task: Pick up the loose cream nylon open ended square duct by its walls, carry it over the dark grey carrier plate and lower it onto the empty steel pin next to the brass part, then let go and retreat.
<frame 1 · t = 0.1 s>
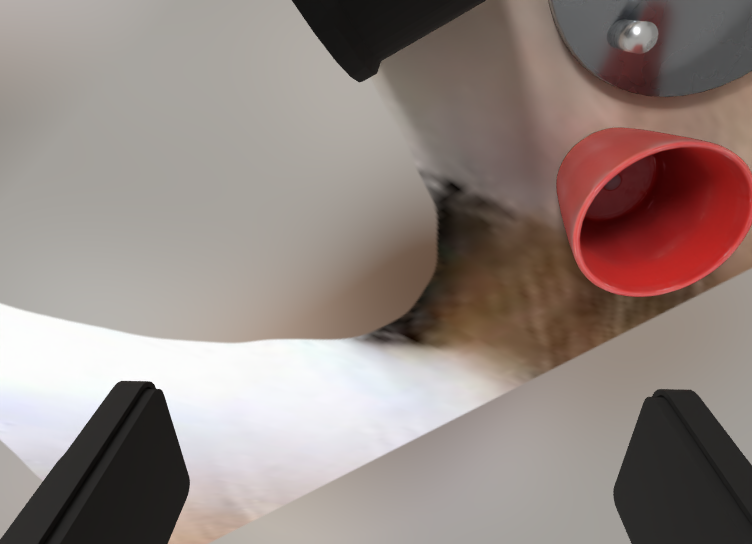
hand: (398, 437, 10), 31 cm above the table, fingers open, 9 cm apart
flower pot: (604, 176, 39), on the table
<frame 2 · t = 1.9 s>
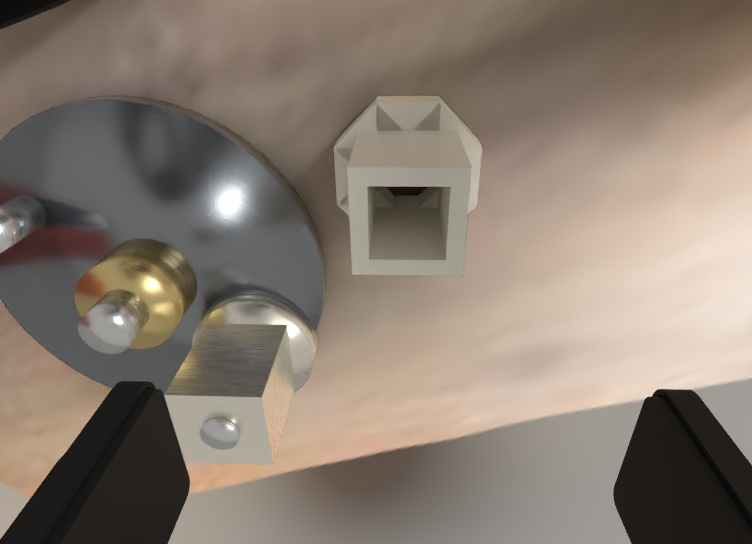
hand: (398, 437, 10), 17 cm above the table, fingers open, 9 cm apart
open ended square duct: (406, 167, 24), on the table
carrier: (161, 268, 28), on the table
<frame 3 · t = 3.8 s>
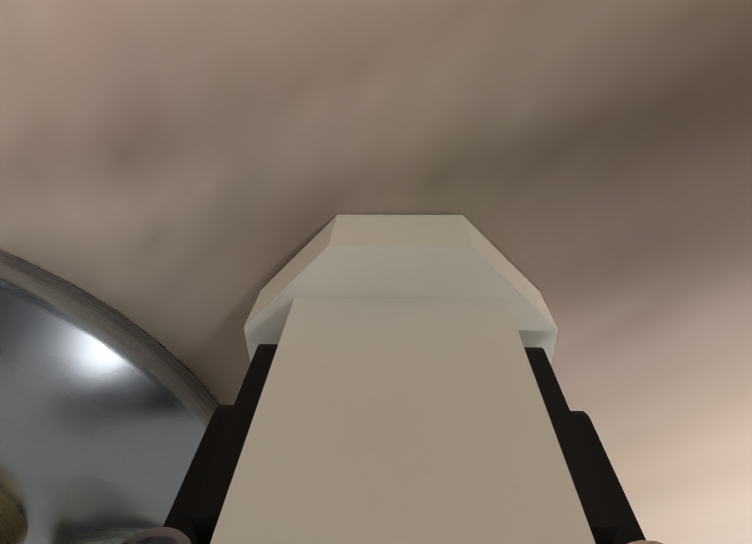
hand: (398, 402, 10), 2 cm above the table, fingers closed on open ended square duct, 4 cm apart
open ended square duct: (398, 336, 13), on the table, touching gripper
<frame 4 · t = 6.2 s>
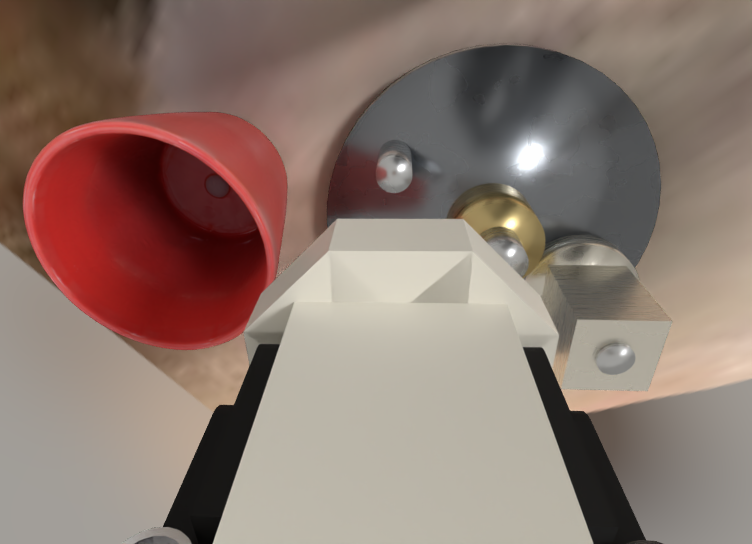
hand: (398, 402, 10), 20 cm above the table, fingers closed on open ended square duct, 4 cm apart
open ended square duct: (398, 340, 13), point 17 cm above the table, touching gripper
flower pot: (224, 177, 29), on the table
carrier: (485, 215, 29), on the table
when the fingers open (5 cm above the table, at t = 8.6 s): open ended square duct drops 1 cm, resting on carrier.
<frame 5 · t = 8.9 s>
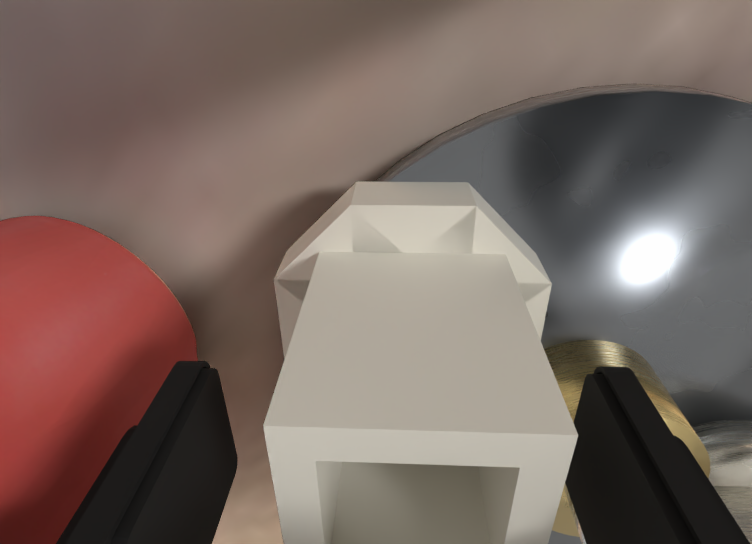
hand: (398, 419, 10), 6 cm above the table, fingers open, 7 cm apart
open ended square duct: (408, 295, 14), point 1 cm above the table, touching carrier
flower pot: (94, 318, 16), on the table, touching gripper
carrier: (564, 376, 17), on the table
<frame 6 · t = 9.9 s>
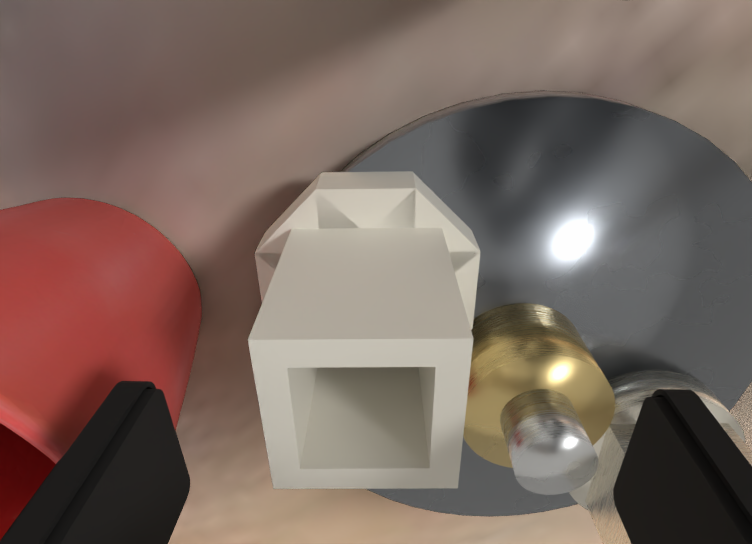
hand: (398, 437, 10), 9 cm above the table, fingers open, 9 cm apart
open ended square duct: (369, 268, 17), point 1 cm above the table, touching carrier
flower pot: (103, 289, 19), on the table
carrier: (506, 339, 20), on the table
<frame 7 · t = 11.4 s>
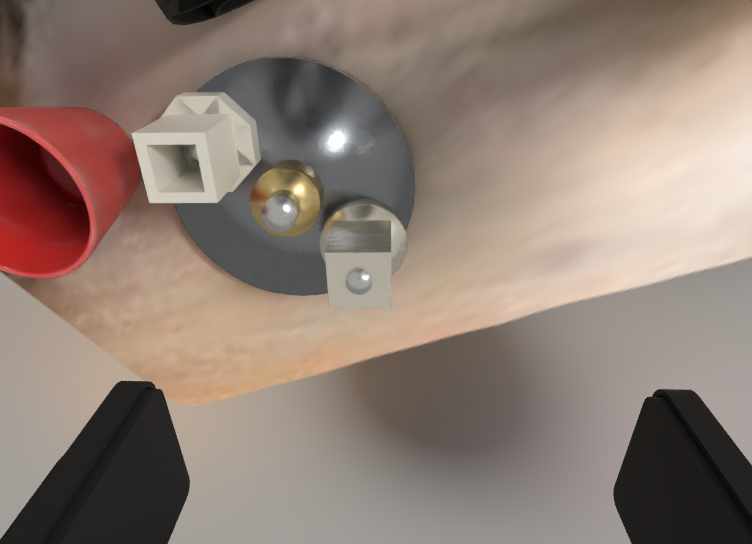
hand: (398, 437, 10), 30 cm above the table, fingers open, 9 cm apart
open ended square duct: (212, 140, 36), point 1 cm above the table, touching carrier
flower pot: (92, 157, 38), on the table
carrier: (294, 186, 39), on the table
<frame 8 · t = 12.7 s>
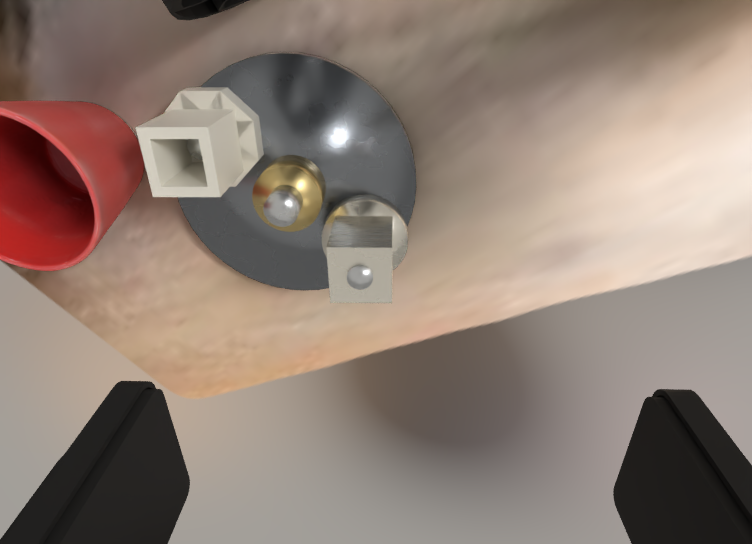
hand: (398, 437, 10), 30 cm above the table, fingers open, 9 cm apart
open ended square duct: (216, 135, 36), point 1 cm above the table, touching carrier
flower pot: (97, 152, 38), on the table
carrier: (296, 181, 39), on the table
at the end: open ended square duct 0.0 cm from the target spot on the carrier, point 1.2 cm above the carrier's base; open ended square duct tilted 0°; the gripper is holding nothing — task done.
